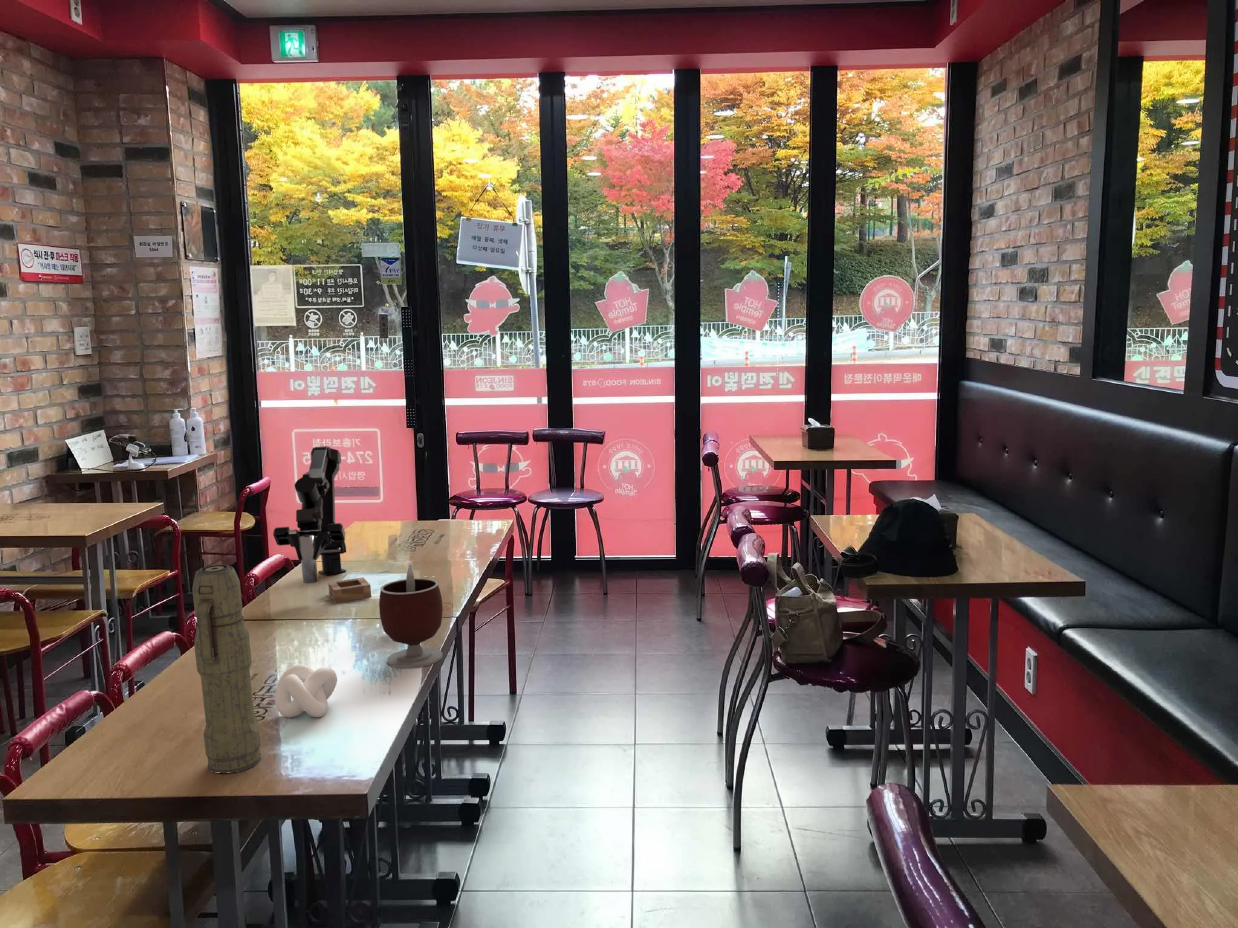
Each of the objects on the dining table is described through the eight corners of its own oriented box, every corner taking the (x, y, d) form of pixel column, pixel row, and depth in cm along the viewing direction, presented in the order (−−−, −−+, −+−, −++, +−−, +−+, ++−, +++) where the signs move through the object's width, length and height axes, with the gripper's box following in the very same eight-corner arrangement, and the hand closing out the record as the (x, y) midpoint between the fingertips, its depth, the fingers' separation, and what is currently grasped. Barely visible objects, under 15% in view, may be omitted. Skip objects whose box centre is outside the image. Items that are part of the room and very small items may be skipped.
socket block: (329, 594, 280) (328, 582, 279) (364, 588, 284) (363, 577, 283) (335, 602, 271) (334, 590, 270) (371, 596, 275) (370, 584, 274)
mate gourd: (445, 665, 215) (439, 578, 212) (381, 672, 213) (374, 583, 210) (446, 644, 230) (440, 561, 227) (386, 649, 228) (379, 566, 225)
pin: (300, 581, 272) (296, 536, 270) (313, 578, 275) (309, 533, 273) (307, 584, 269) (302, 538, 267) (320, 581, 272) (316, 535, 270)
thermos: (196, 780, 164) (174, 578, 159) (220, 750, 175) (199, 561, 170) (250, 776, 164) (229, 575, 159) (270, 746, 176) (251, 558, 171)
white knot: (340, 720, 187) (336, 675, 186) (274, 730, 184) (269, 684, 182) (339, 699, 198) (335, 657, 196) (277, 708, 194) (273, 665, 193)
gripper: (271, 499, 271) (266, 546, 262) (339, 495, 273) (337, 541, 264) (280, 521, 280) (275, 567, 271) (346, 517, 282) (343, 563, 273)
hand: (307, 559), depth 269 cm, fingers closed on pin, 4 cm apart
